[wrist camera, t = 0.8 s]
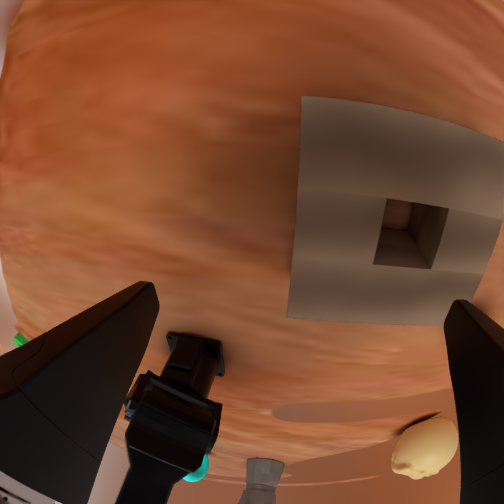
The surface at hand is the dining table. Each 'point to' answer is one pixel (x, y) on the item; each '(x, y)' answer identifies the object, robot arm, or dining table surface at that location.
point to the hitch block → (372, 211)
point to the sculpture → (425, 448)
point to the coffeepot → (261, 481)
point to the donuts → (199, 471)
